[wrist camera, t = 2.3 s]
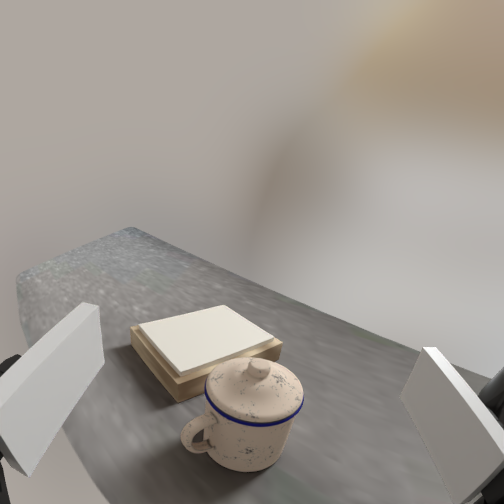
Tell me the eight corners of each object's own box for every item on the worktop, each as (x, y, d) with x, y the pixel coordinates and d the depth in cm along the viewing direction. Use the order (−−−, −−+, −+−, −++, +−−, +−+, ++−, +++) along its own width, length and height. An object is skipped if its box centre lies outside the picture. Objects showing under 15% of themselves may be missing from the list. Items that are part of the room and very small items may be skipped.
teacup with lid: (249, 405, 33) (265, 327, 30) (301, 449, 27) (333, 372, 24) (161, 438, 26) (156, 355, 23) (209, 501, 19) (217, 431, 16)
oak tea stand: (222, 320, 54) (224, 301, 52) (278, 359, 44) (283, 338, 43) (131, 344, 41) (129, 322, 40) (178, 402, 32) (177, 379, 31)
